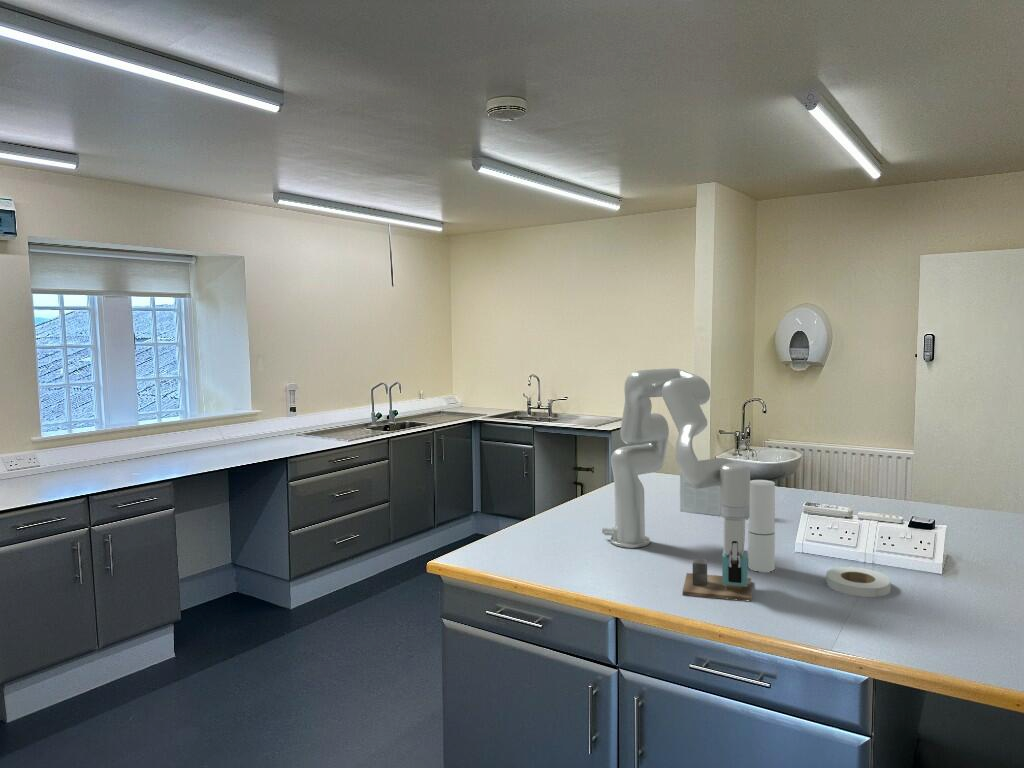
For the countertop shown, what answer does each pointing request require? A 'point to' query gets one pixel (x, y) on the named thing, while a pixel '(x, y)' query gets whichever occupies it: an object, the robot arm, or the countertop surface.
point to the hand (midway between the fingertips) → (735, 576)
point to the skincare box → (699, 499)
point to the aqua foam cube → (726, 563)
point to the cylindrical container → (761, 526)
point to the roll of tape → (843, 583)
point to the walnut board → (712, 584)
